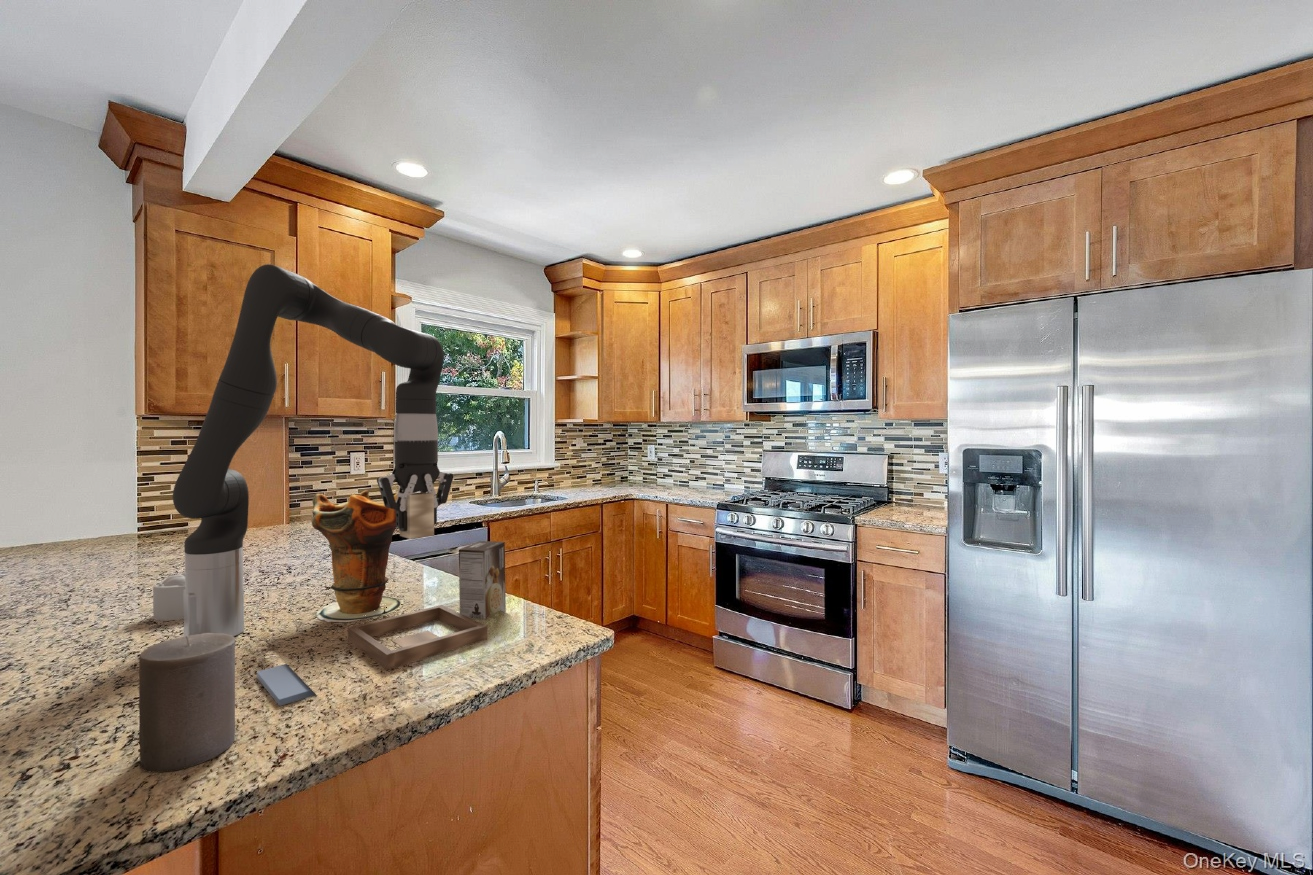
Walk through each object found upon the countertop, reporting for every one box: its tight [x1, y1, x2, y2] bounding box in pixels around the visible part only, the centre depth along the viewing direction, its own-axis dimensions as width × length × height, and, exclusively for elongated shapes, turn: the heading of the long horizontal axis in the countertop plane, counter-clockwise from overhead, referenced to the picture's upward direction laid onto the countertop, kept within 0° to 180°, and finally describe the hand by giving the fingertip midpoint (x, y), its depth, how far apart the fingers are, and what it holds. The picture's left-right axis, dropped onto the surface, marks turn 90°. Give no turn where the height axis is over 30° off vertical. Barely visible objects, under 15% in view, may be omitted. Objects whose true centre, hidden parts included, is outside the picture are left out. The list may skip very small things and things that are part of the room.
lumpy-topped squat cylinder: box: [152, 571, 185, 621], centre depth 128 cm, size 10×13×9 cm
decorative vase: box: [311, 489, 405, 623], centre depth 130 cm, size 21×23×28 cm
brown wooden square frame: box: [347, 604, 488, 671], centre depth 107 cm, size 18×18×4 cm
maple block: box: [399, 491, 435, 540], centre depth 107 cm, size 4×4×8 cm
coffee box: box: [458, 540, 507, 620], centre depth 123 cm, size 9×6×16 cm
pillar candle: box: [138, 633, 236, 773], centre depth 73 cm, size 10×10×15 cm
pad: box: [256, 663, 317, 707], centre depth 95 cm, size 14×14×1 cm
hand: (416, 528), depth 107 cm, fingers closed on maple block, 4 cm apart
